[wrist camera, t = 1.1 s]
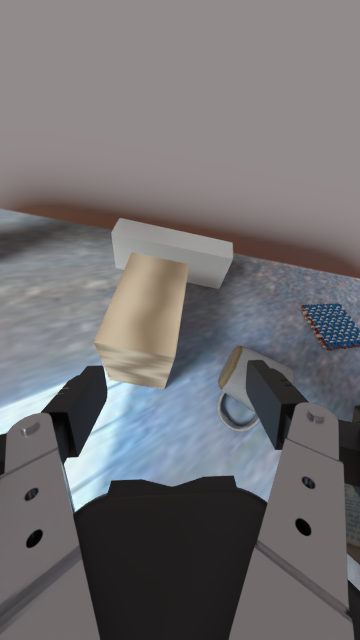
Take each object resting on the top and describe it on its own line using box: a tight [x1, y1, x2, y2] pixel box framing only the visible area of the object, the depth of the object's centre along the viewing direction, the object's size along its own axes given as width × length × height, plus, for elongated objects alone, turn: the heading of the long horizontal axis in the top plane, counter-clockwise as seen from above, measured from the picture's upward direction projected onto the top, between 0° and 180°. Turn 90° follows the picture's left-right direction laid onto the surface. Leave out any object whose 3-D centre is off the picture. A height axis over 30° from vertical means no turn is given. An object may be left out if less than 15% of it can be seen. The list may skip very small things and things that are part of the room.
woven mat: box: [299, 304, 360, 350], centre depth 42 cm, size 10×11×2 cm
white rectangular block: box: [111, 218, 233, 289], centre depth 40 cm, size 22×5×8 cm, turn 83°
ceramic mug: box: [217, 346, 294, 432], centre depth 28 cm, size 11×8×8 cm
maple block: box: [94, 252, 189, 389], centre depth 29 cm, size 8×14×12 cm, turn 172°
